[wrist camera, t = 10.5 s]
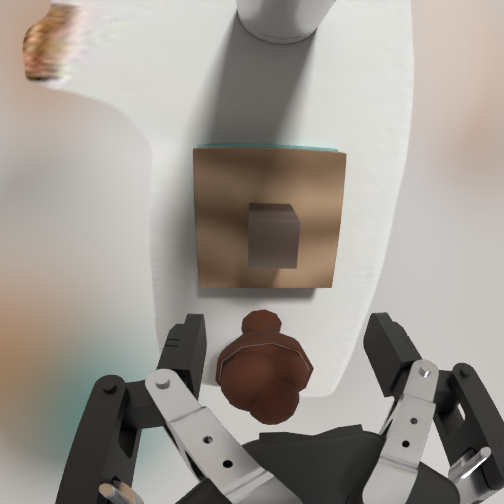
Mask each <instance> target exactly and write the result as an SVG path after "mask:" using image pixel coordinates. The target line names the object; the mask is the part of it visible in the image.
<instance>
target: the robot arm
mask: <svg viewBox="0 0 504 504" xmlns="http://www.w3.org/2000/svg"><path fill="white" fill-rule="evenodd" d="M236 1H237V10H238V15H239V19H240V21H241V23H242V25H243V26H244V27H245V29H246V30H247V31H248V32H250V33H251V34H252V35H254V36H255V37H257V38H259V39H261V40H264V41H267V42H270V43H277V44H289V43H294V42H298V41H301V40H303V39H305V38H307V37H308V36H310V35H311V34H312V33H313V32H314V31H315V30H316V28H317V27H318V25H319V24H320V22H321V21H322V19H323V18H324V17H325V15H326V14H327V12H328V11H329V9H330V8H331V7H332V5H333V4H334V2H335V1H336V0H236ZM363 343H364V349H365V352H366V354H367V356H368V359H369V361H370V363H371V366H372V368H373V370H374V372H375V375H376V378H377V380H378V382H379V385H380V387H381V390H382V392H383V395H384V397H389V396H394V401H393V403H392V405H391V407H390V410H389V412H388V415H387V417H386V419H385V421H384V424H383V426H382V428H381V430H380V432H379V434H376V433H373V432H369V431H363V429H362V426H361V424H359V425H353V426H345V427H338V428H335V429H332V430H329V431H326V432H323V433H321V434H318V435H313V436H311V435H303V434H295V433H289V432H270V433H260V434H259V439H258V440H254V441H251V442H248V443H246V444H243V445H240V444H239V443H238V442H237V441H236V440H235V438H234V437H233V436H232V435H231V434H230V433H229V432H228V431H227V429H226V428H225V427H224V426H223V425H222V424H221V422H220V421H219V420H218V419H217V418H216V417H215V416H214V414H213V413H212V412H211V411H210V409H209V408H207V407H206V406H204V407H202V406H201V405H200V404H199V403H198V397H199V391H200V385H201V379H202V373H203V367H204V361H205V355H206V346H207V341H206V330H205V320H204V315H203V314H187V317H186V320H185V323H184V324H176V325H175V326H174V327H173V328H172V329H171V330H170V331H169V334H168V337H167V340H166V342H165V346H164V348H163V351H162V354H161V357H160V360H159V363H158V366H157V369H156V370H155V371H153V372H151V373H150V374H149V375H148V376H147V378H146V379H145V380H142V381H137V382H129V383H125V382H124V380H123V379H122V378H121V377H119V376H117V375H106V376H103V377H101V378H100V379H98V380H97V381H96V383H95V384H94V387H93V389H92V392H91V394H90V397H89V399H88V402H87V405H86V407H85V410H84V412H83V415H82V418H81V421H80V423H79V426H78V429H77V432H76V435H75V438H74V441H73V444H72V447H71V450H70V453H69V456H68V459H67V463H66V466H65V469H64V473H63V476H62V480H61V483H60V487H59V491H58V494H57V498H56V503H55V504H144V502H143V500H142V498H141V497H140V496H139V495H137V493H136V492H134V491H133V490H132V489H131V487H132V481H133V475H134V469H135V463H136V458H137V452H138V447H139V442H140V436H141V432H142V429H144V428H152V427H159V426H162V427H163V429H164V430H165V432H166V433H167V435H168V436H169V438H170V440H171V441H172V443H173V444H174V446H175V447H176V449H177V450H178V452H179V453H180V455H181V456H182V458H183V460H184V461H185V463H186V465H187V466H188V468H189V469H190V471H191V472H192V473H193V475H194V476H195V477H196V479H197V480H198V481H199V483H198V484H197V485H196V486H195V487H194V488H193V489H192V490H191V491H190V492H188V493H187V494H186V495H185V496H184V497H182V498H181V499H180V500H179V501H178V502H176V503H175V504H479V503H481V502H483V501H484V500H486V499H487V498H489V497H490V496H492V495H493V494H495V493H496V492H498V491H499V490H500V489H502V488H503V487H504V422H503V420H502V418H501V416H500V414H499V412H498V410H497V408H496V406H495V404H494V403H493V401H492V399H491V397H490V396H489V394H488V392H487V390H486V388H485V387H484V385H483V383H482V382H481V380H480V378H479V377H478V375H477V373H476V371H475V370H474V369H473V367H471V366H470V365H468V364H466V363H458V364H456V365H455V366H454V367H453V369H452V371H444V370H438V368H437V366H436V365H435V364H434V363H432V362H431V361H428V360H423V359H422V358H421V356H420V354H419V353H418V351H417V349H416V348H415V346H414V345H413V343H412V341H411V340H410V338H409V336H407V333H406V332H405V330H404V328H403V327H402V326H400V325H399V324H398V323H396V322H393V321H392V320H391V318H390V316H389V315H388V313H386V312H384V313H372V314H371V316H370V319H369V322H368V325H367V329H366V332H365V335H364V341H363ZM459 403H460V404H461V406H462V408H463V411H464V413H465V420H463V417H462V415H461V413H460V411H459V409H458V407H457V406H458V404H459ZM432 419H433V420H434V423H435V425H436V428H437V431H438V433H439V436H440V439H441V441H442V444H443V447H444V450H445V452H446V455H447V458H448V461H449V464H450V469H449V473H448V478H446V477H445V476H443V475H441V474H439V473H438V472H436V471H435V470H433V469H432V468H430V467H428V466H427V465H425V464H424V463H422V462H421V461H420V459H421V456H422V453H423V449H424V447H425V444H426V440H427V437H428V434H429V430H430V426H431V423H432Z"/></svg>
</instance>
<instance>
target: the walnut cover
mask: <svg viewBox="0 0 504 504" xmlns="http://www.w3.org/2000/svg"><path fill="white" fill-rule="evenodd" d="M345 168H346V154H345V153H341V152H337V151H326V150H312V149H297V148H275V147H199V148H195V149H193V169H194V203H195V226H196V244H197V260H198V275H199V287H227V288H332V281H333V275H334V268H335V261H336V254H337V247H338V239H339V231H340V222H341V213H342V203H343V193H344V181H345Z"/></svg>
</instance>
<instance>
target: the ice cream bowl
mask: <svg viewBox="0 0 504 504" xmlns="http://www.w3.org/2000/svg"><path fill="white" fill-rule="evenodd" d="M281 324H282V323H281V321H280V319H279V318H278V316H277V314H275V313H272V312H270V311H267V310H259V311H252V312H251V313H250V314H248V315H247V316H246V317H245V318H244V319H243V323H242V331H243V332H244V334H242V335H241V336H240V337H239V338H237V339H236V340H235V341H234V342H232V343H231V344H230V345H228V346H227V347H226V348H225V349H224V350H223V351H222V352H221V354H220V356H219V358H218V362H217V371H216V382H217V383H218V384H219V385H220V386H221V391H222V392H223V394H224V396H225V397H226V398H227V399H228V401H229V403H230V404H231V405H233V406H234V407H236V408H238V409H241V410H245V411H249V412H250V414H251V415H252V416H253V417H254V418H255V419H257V420H258V421H259V422H261V423H263V424H267V425H272V424H273V425H275V424H279V423H281V422H284V421H286V420H287V419H289V418H290V417H291V416H292V415H293V414H294V412H295V410H296V408H297V405H298V403H299V393H298V392H300V391H301V390H303V389H305V388H306V386H307V383H308V381H309V379H310V376H311V374H312V371H313V369H314V368H313V366H312V364H311V363H310V361H309V359H308V357H307V356H306V354H305V352H304V350H303V349H302V347H301V345H300V344H299V342H298V341H297V340H295V339H294V338H292V337H289V336H287V335H284V334H281V333H279V332H280V328H281Z"/></svg>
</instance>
